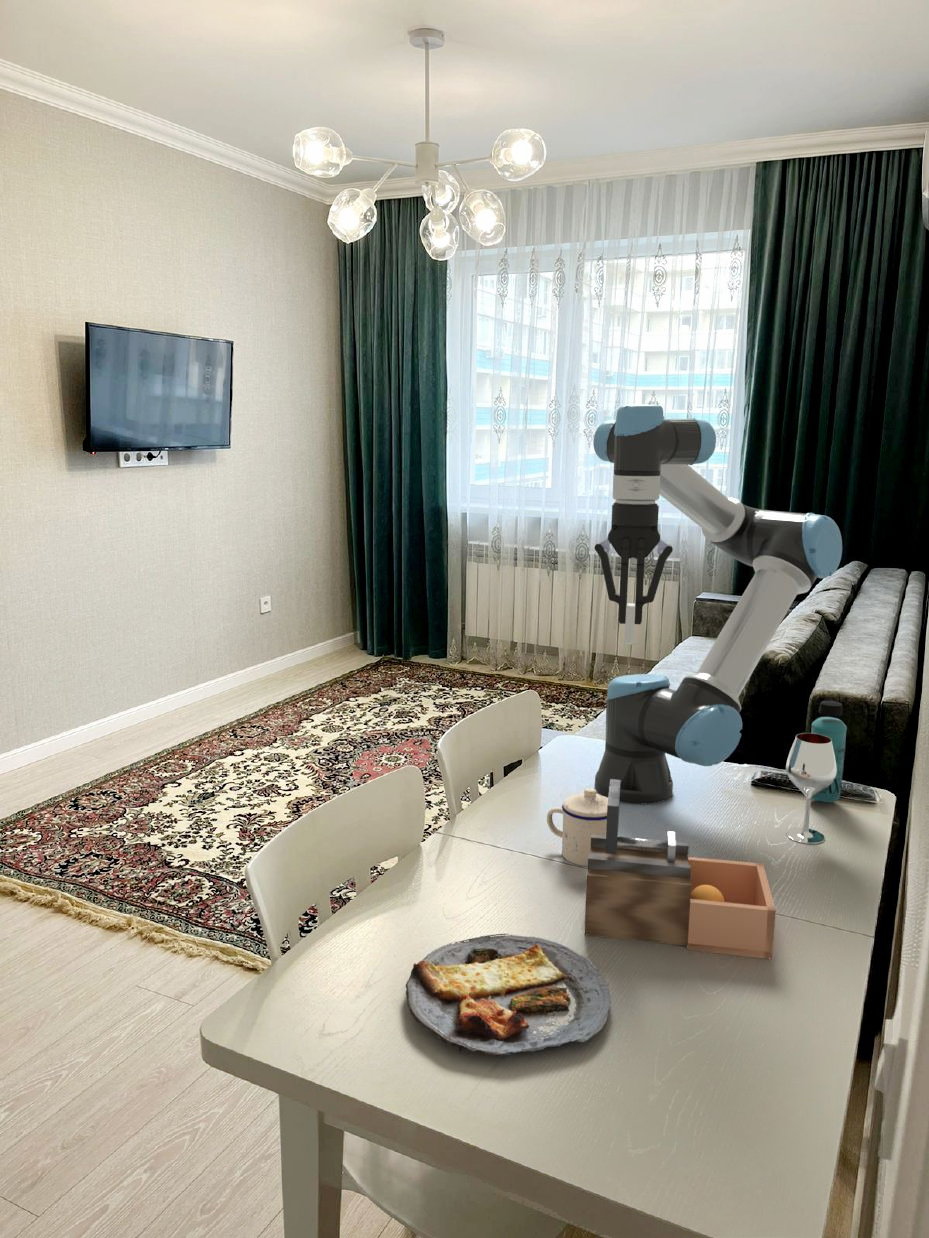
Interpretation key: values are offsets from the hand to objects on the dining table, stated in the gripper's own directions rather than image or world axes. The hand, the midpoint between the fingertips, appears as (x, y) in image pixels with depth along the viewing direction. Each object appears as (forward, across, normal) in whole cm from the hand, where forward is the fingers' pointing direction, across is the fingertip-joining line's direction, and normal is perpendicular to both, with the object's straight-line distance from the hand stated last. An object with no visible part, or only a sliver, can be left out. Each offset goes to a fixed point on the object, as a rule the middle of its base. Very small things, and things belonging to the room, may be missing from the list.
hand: (629, 642), depth 154 cm
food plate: (+35, -12, -52) cm, 64 cm away
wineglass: (+35, +32, +6) cm, 47 cm away
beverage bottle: (+35, +37, +22) cm, 56 cm away
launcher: (+34, +3, -29) cm, 45 cm away
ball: (+31, +13, -29) cm, 44 cm away
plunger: (+25, +3, -29) cm, 38 cm away
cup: (+34, +16, -29) cm, 47 cm away
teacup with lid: (+35, -6, -9) cm, 36 cm away
